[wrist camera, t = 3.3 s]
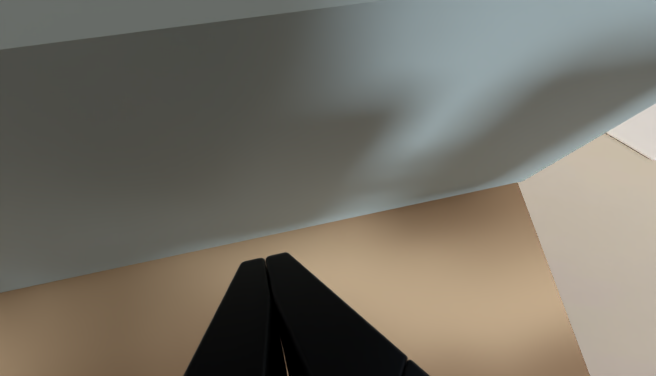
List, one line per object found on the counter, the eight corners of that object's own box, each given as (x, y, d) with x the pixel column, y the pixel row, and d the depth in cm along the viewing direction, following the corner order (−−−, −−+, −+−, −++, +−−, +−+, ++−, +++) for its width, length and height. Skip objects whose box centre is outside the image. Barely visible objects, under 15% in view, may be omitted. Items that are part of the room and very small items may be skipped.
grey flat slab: (522, 181, 15) (957, -74, 5) (-64, 306, 12) (-1501, 242, 2) (502, 128, 15) (865, -188, 6) (-63, 235, 12) (-1226, -56, 3)
